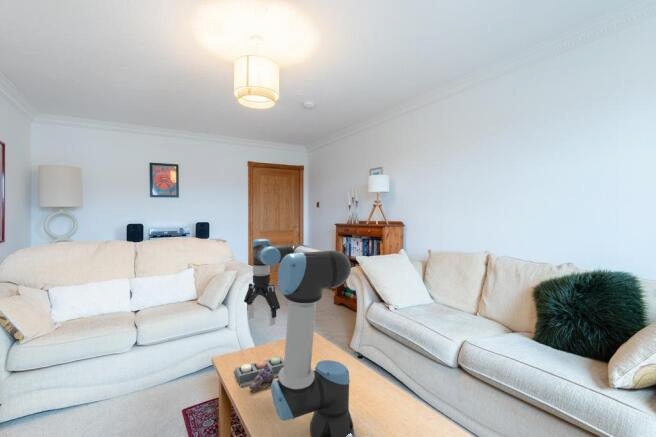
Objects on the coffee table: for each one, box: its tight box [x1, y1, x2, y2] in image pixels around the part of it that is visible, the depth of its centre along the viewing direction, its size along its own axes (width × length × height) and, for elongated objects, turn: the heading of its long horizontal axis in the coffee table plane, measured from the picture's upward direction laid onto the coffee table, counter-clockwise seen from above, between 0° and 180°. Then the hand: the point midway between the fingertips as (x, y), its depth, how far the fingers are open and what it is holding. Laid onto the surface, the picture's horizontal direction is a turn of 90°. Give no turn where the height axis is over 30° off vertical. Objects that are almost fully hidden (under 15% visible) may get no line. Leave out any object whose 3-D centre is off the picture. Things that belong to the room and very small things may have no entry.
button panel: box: [233, 356, 284, 389], centre depth 141 cm, size 14×22×4 cm, turn 120°
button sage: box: [270, 356, 280, 366], centre depth 145 cm, size 4×4×2 cm
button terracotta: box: [255, 359, 266, 370], centre depth 141 cm, size 4×4×2 cm
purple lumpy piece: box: [248, 367, 275, 393], centre depth 131 cm, size 12×8×6 cm, turn 138°
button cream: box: [240, 363, 251, 374], centre depth 138 cm, size 4×4×2 cm
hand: (261, 321), depth 136 cm, fingers open, 13 cm apart
